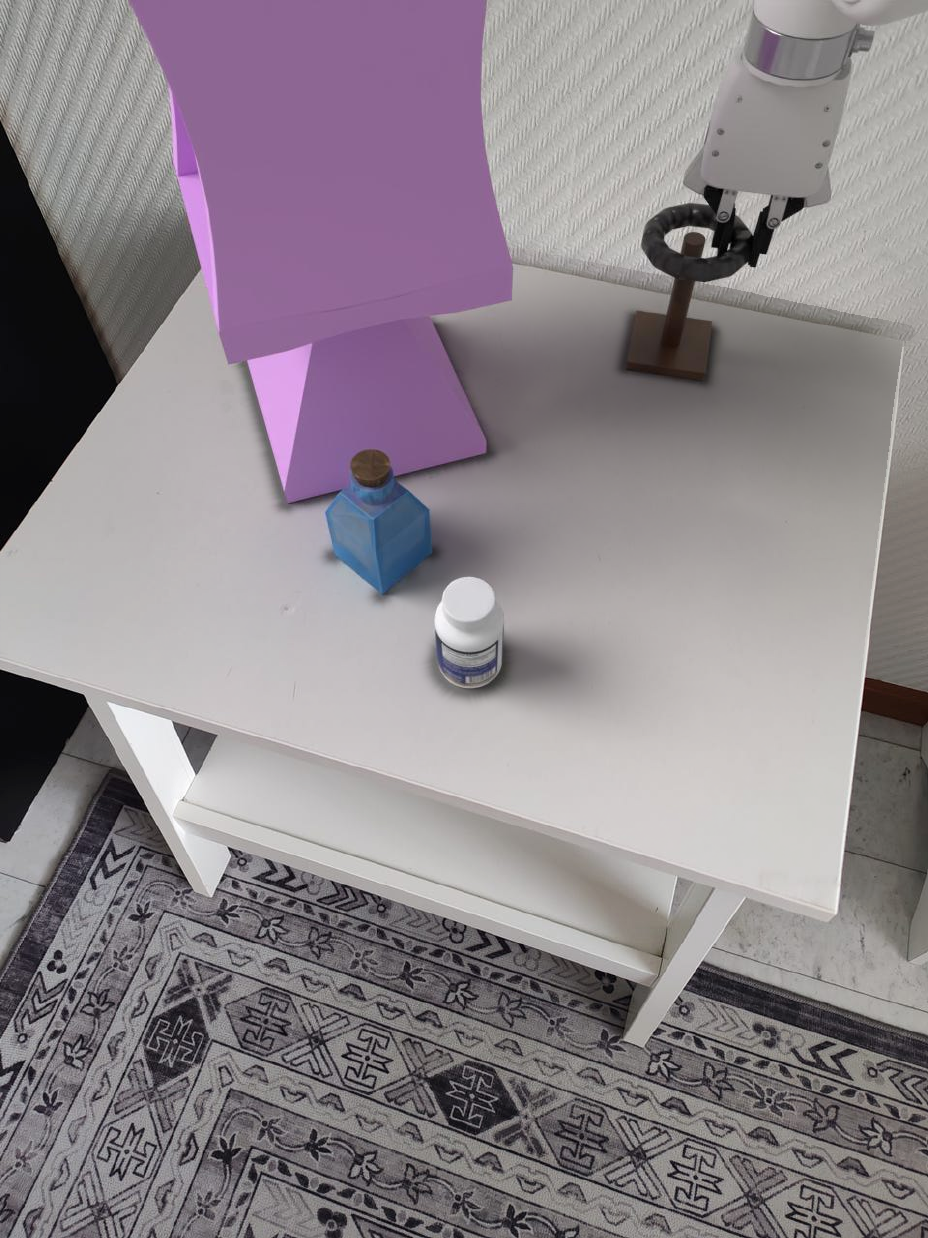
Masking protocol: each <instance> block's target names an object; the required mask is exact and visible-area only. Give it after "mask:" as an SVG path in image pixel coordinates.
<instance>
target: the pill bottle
mask: <svg viewBox="0 0 928 1238" xmlns="http://www.w3.org/2000/svg"><path fill="white" fill-rule="evenodd" d="M504 615H505V614H504V611H503V608H502V606H501V604H500V603H499V601H498V599H496V594H495V591H494V589H493V588H492V586H491V585H490V584H489V583H488V582H487V581H485V580H484V579H482V578H480V577H474V576H463V577H459V578H457V579H454V580H453V581H451V582H449V584H448V585H447V586H445V589H444V590H443V593H442V597H441V600H440V602H439V603H438V605H437V608H436V610H435V613H434V635H435V645H436V657H437V663H438V668H439V671H440V672H441V674H442V676H443V677H444V678H445V680H447V681H448V682H450V683H451V684H453V685H454V686H457V687H460V688H464V689H477V688H481V687H484V686H486V685H489V684H490V683H491V682H493V680H494V679H496V677H497V676H498V674H499V673H500V671H501V668H502V665H503V657H504V634H505V633H504V632H505V616H504Z"/></svg>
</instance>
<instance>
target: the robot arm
mask: <svg viewBox="0 0 928 1238" xmlns="http://www.w3.org/2000/svg"><path fill="white" fill-rule="evenodd" d="M926 12H928V0H755V1H754V5H753V9H752V13H751V17H750V21H749V26H748V30H747V33H746V38H745V41H742V42H740V43H738V44H736V45H735V47H734V48H733V50H732V52H731V54H730V57H729V59H728V61H727V65H726V67H725V69H724V72H723V75H722V77H721V81H720V83H719V87H718V90H717V93H716V96H715V100H714V103H713V107H712V111H711V115H710V118H709V121H708V124H707V125H708V126H707V129H706V130H707V131H706V134H705V138H704V143H703V146H702V148H701V149H700V150H699V152H698V153H697V154H696V155H695V157H694V158H693V159H692V161H691V162H690V164H689V165H688V167H687V168H686V169H685V170H684V174H683V178H682V179H683V180H682V184H683V186H684V187H686V188H687V189H689V190H691V191H693V192H694V193H695V194H697V195H701V196H702V197H703V199H704V200H705V202H706V203H707V205H710V207H711V208H712V209H713V211H714V212H715V213H716V218H717V222H716V226H715V230H714V231H713V235H712V239H711V245H710V248H713V249H717V251H716V256H718V255H723V254H724V253H725V252H726V251H727V250H729V247H730V244H729V242H730V239H731V235H732V231H733V228H734V221H735V215H736V212H737V208H736V200H737V196H738V193H739V192H743V193H751V194H759V195H768V196H769V200H768V203H767V205H766V206H764V207H762V210H760V211H759V214H758V217H757V219H756V220H757V221H756V223H755V226H754V230H753V233H752V235H753V242H752V252H751V257H750V260H749V261H748V262H747V266H749V268H754V269H756V267H757V264H758V262H759V258H760V255H767V254H768V252H769V248H770V245H771V242H772V239H773V235H774V234H775V233H774V232H775V230H776V229H778V228H779V227H780V226H781V224H782V222H784V221H785V220H787V219H789V218H791V217H793V216H794V215H796V214H797V213H799V212H800V211H802V210H803V209H804V208H807V209H808V208H813V207H817V206H821V205H825V204H827V203H829V202H830V201H831V200H832V199H831V198H832V183H831V176H830V175H831V174H830V168H829V165H830V162H831V159H832V155H833V153H834V148H835V145H836V141H837V138H838V133H839V130H840V127H841V123H842V119H843V114H844V109H845V104H846V100H847V95H848V92H849V87H850V80H851V74H852V66H853V61H852V56H853V54H858V53H859V52H866V53H869V52H870V51H871V50H870V49H871V47H872V44H873V41H874V37H875V30H870V29H866V27H861V26H867V27H875V26H884V25H888V24H891V23H894V22H898V21H903V20H904V19H907V18H910V17H914V16H917V15H919V14H923V13H926Z"/></svg>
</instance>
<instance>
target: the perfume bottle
mask: <svg viewBox="0 0 928 1238" xmlns="http://www.w3.org/2000/svg"><path fill="white" fill-rule="evenodd" d="M350 469H351V472H350V480H351V484H350V485H349V486H347V487H346V488H345V489H343V490H340V491H339V493H338V494H337V495H336V496H335V498H334V499H333V500H332V501H331V503H330V505H328V507H327V509H326V510H325V511H324V515H325V518H326V523H327V528H328V532H329V536H330V540H331V544H332V549H333V554H334V556H335V557H337V558H338V559H339V560H340V561H341V562H342V563H344V564H345V565H346V566H347V567H348V568H349V569H351V570H352V571H353V572H355V573H356V574H357V575H358V576H359V577H361V578H362V580H364V581H365V582H366V583H367V584H369V586H371V587H372V588H374V589H375V590H376V591H377V592H378V593H380V594H381V595H382V596H383V595H384V594H385V593H387V592H388V591H389V590H390V589H391V588H392V587H394V586H395V585H396V584H398V582H399V581H401V580H402V579H403V578H405V576H407V575H408V574H409V573H410V572H411V571H413V570H414V569H415V568H416V567H417V566H418V565H419V564H421V563H422V562H423V561H424V560H425V559H426V558H428V557H429V556H430V555H432V554H433V542H432V541H433V540H432V529H431V528H432V527H431V511H430V508H428V506H426V504H424V503H423V502H422V501H421V500H420V499H419V498H418V497H416V495H414V494H413V493H412V492H411V491H410V490H409V489H408V488H406V487H405V486H403V485H402V484H401V483H399V482H398V481H397V480H395V476H394V474H393V470H392V467H391V466H390V460H389V457H388V456H387V455H386V454H385V453H384V452H382V451H380V450H375V449H367V450H363V451H361V452H359V453H357V454H356V455H355V456H354V457H353V458H352V460H351V462H350Z"/></svg>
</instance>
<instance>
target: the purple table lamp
mask: <svg viewBox="0 0 928 1238" xmlns="http://www.w3.org/2000/svg"><path fill="white" fill-rule="evenodd" d="M127 1H128V3H129V5H130V6H131V9H132V11H133V13H134V14H135V16H136V18H137V21H138V22H139V24H140V26H141V28H142V31H143V32H144V34H145V36H146V38H147V41H148V43H149V45H150V47H151V49H152V51H153V54H154V56H155V57H156V59H157V62H158V64H159V66H160V68H161V70H162V73H163V75H164V77H165V80H166V82H167V84H168V91H169V101H170V114H171V127H172V128H171V132H172V133H171V134H172V156H173V157H172V163H173V166H174V170H175V174H176V177H177V181H178V185H179V189H180V192H181V197H182V200H183V204H184V208H185V211H186V215H187V218H188V222H189V226H190V230H191V234H192V238H193V241H194V245H195V249H196V253H197V256H198V260H199V264H200V267H201V271H202V275H203V278H204V283H205V287H206V290H207V294H208V298H209V302H210V306H211V309H212V314H213V318H214V321H215V324H216V325H215V326H216V328H217V333H218V335H219V339H220V342H221V345H222V348H223V352H224V354H225V358H226V362H227V365H233V364H237V363H242V362H247V365H248V369H249V372H250V376H251V380H252V382H253V386H254V390H255V394H256V397H257V400H258V401H257V402H258V404H259V407H260V411H261V415H262V418H263V422H264V426H265V430H266V433H267V436H268V439H269V444H270V446H271V450H272V454H273V457H274V461H275V464H276V468H277V472H278V474H279V478H280V481H281V485H282V489H283V492H284V496H285V499H286V500H285V501H286V503H287V504H292V503H295V502H299V501H303V500H307V499H311V498H315V497H318V496H323V495H327V494H331V493H334V492H338V491H339V492H340V491H342V490H344V489H345V488H346V487H347V486H349V485H350V484H351V480H350V472H351V469H350V462H351V460H352V458H353V457H354V456H355V455H356V454H357V453H359V452H361V451H363V450H367V449H375V450H380V451H382V452H384V453H385V454H386V455H387V456H388V457H389V460H390V466H391V467H392V470H393V474H394V477H398V476H401V475H406V474H409V473H413V472H417V471H421V470H425V469H428V468H433V467H437V466H440V465H441V466H442V465H445V464H449V463H452V462H456V461H460V460H464V459H468V458H472V457H476V456H481V455H484V454H487V439H486V436H485V435H484V432H483V430H482V428H481V426H480V423H479V421H478V419H477V416H476V414H475V412H474V410H473V408H472V406H471V404H470V401H469V400H468V396H467V395H466V393H465V390H464V388H463V386H462V383H461V382H460V379H459V378H458V375H457V373H456V371H455V368H454V366H453V363H452V361H451V360H450V357H449V355H448V353H447V351H446V349H445V347H444V345H443V343H442V342H443V341H442V340H441V338H440V336H439V333H438V331H437V329H436V326H435V324H434V322H433V320H432V318H431V317H433V316H434V317H435V316H443V315H449V314H457V313H458V314H459V313H463V312H466V311H470V310H476V309H479V308H485V307H488V306H493V305H498V304H501V303H507V302H510V301H511V302H512V300H513V281H514V280H513V278H514V266H513V262H512V257H511V254H510V249H509V246H508V243H507V240H506V235H505V232H504V229H503V224H502V221H501V217H500V213H499V208H498V205H497V200H496V196H495V192H494V188H493V182H492V176H491V171H490V165H489V159H488V155H487V149H486V143H485V142H486V140H485V130H484V119H483V108H482V69H483V46H484V45H483V43H484V36H485V35H484V34H485V25H486V15H487V6H488V0H127Z"/></svg>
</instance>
